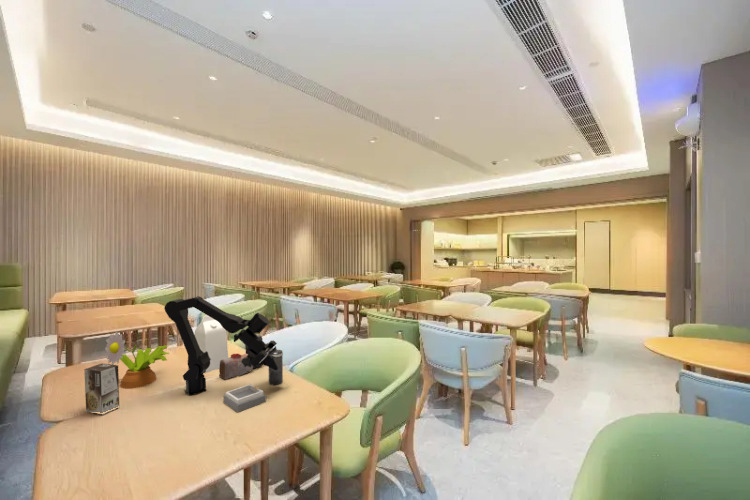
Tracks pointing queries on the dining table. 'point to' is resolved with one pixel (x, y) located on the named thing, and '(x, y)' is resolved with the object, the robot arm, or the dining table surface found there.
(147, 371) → the decorative plant
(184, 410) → the dining table surface
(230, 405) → the shallow square tray
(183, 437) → the dining table surface
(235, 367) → the weathered brick
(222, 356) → the milk
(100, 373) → the coffee box
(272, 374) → the dark tapered cup
